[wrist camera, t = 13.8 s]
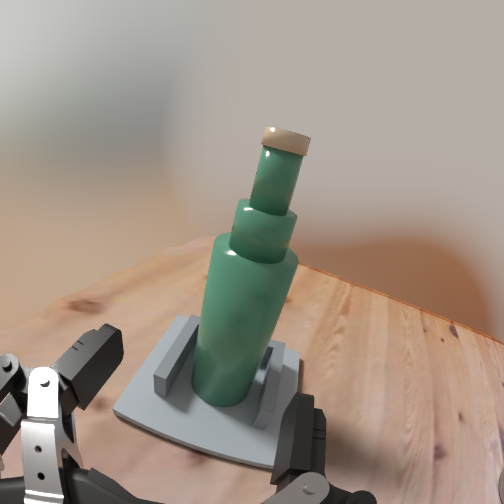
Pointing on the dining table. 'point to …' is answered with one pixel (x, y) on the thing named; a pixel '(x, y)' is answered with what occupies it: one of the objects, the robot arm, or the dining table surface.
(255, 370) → the bottle
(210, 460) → the dining table surface
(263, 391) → the bottle rest
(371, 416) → the dining table surface
